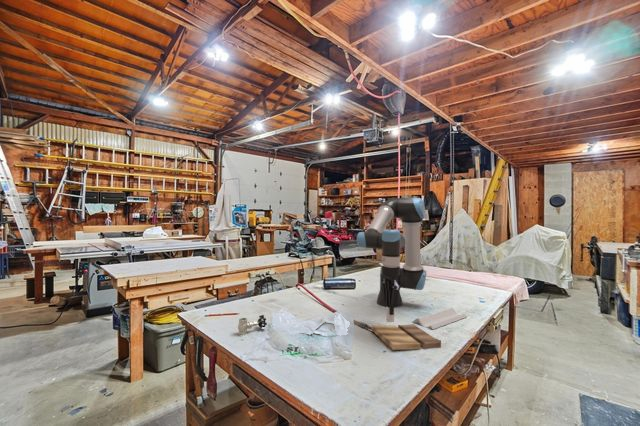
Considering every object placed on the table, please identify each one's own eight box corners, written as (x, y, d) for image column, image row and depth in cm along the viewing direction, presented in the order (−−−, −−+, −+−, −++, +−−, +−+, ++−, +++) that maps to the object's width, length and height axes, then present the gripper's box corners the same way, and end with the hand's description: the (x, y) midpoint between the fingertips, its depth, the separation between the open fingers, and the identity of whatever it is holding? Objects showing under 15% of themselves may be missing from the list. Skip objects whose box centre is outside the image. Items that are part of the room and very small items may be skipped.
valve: (241, 338, 121) (266, 331, 128) (241, 322, 121) (267, 316, 129) (235, 333, 126) (260, 327, 134) (235, 318, 126) (260, 312, 134)
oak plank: (371, 329, 130) (371, 325, 130) (395, 329, 133) (395, 325, 133) (392, 349, 110) (393, 344, 110) (420, 349, 113) (420, 344, 113)
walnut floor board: (398, 329, 133) (398, 324, 133) (413, 328, 135) (413, 323, 135) (423, 348, 114) (423, 343, 114) (440, 347, 116) (440, 341, 116)
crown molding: (432, 331, 134) (432, 323, 134) (411, 323, 144) (411, 316, 144) (466, 318, 152) (466, 311, 152) (445, 312, 162) (445, 306, 162)
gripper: (376, 263, 127) (375, 316, 127) (390, 268, 114) (389, 328, 114) (391, 263, 129) (390, 315, 129) (406, 268, 116) (406, 326, 116)
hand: (390, 321), depth 121 cm, fingers closed
